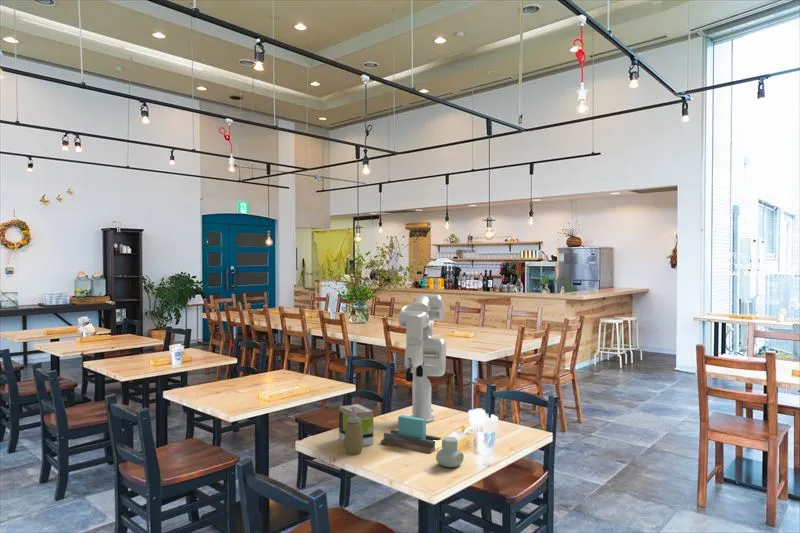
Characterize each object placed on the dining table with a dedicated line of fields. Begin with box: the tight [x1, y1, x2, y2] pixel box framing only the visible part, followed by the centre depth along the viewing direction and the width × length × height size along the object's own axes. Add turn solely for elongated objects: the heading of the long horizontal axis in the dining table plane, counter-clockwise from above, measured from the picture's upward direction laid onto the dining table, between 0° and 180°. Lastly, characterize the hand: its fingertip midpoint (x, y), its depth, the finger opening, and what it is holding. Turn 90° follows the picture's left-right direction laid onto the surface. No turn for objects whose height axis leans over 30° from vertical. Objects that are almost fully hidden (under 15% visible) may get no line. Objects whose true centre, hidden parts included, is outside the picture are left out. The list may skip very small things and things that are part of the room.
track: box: [380, 428, 442, 454], centre depth 227 cm, size 12×24×4 cm, turn 61°
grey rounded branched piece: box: [435, 436, 464, 468], centre depth 203 cm, size 11×8×10 cm
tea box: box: [338, 403, 375, 447], centre depth 230 cm, size 15×10×15 cm, turn 32°
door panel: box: [397, 414, 427, 440], centre depth 227 cm, size 3×12×10 cm, turn 60°
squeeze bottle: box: [343, 408, 364, 456], centre depth 217 cm, size 8×8×18 cm
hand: (414, 378), depth 237 cm, fingers open, 9 cm apart
